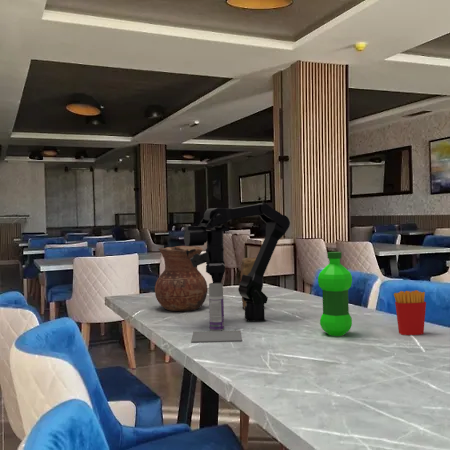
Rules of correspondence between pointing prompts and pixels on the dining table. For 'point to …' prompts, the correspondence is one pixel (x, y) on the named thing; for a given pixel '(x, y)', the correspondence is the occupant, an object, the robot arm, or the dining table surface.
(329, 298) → the plastic bottle
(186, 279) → the jug
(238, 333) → the mat
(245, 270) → the block
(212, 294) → the container
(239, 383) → the dining table surface
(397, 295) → the french fries
